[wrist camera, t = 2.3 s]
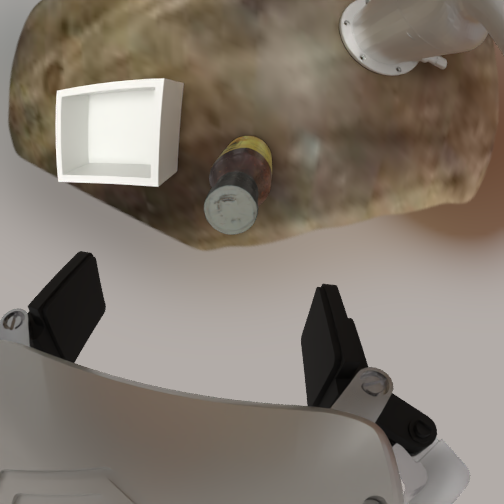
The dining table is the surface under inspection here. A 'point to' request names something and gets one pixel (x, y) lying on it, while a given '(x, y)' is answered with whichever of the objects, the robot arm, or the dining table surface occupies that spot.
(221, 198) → the sauce bottle
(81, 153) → the storage box
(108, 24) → the dining table surface
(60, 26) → the dining table surface
